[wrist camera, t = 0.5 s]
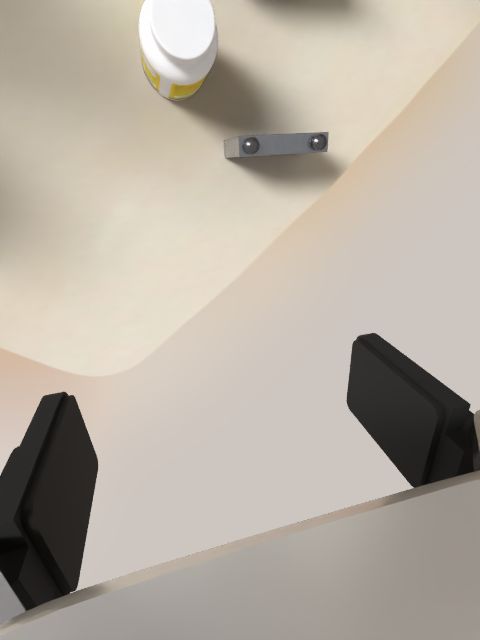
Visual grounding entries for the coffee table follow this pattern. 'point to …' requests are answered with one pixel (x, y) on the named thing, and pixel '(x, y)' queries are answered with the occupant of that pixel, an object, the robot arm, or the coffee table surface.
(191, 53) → the supplement bottle
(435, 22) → the coffee table surface
